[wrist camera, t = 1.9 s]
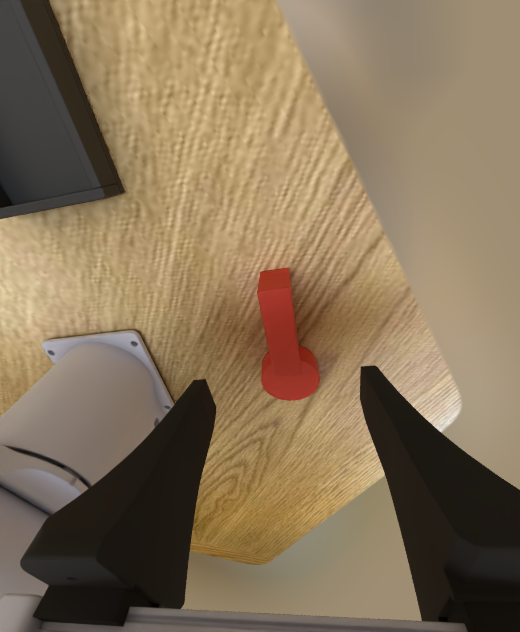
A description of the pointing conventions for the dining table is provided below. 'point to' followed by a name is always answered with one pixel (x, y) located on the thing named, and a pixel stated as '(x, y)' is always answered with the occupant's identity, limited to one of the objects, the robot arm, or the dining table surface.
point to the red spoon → (284, 341)
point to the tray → (45, 119)
